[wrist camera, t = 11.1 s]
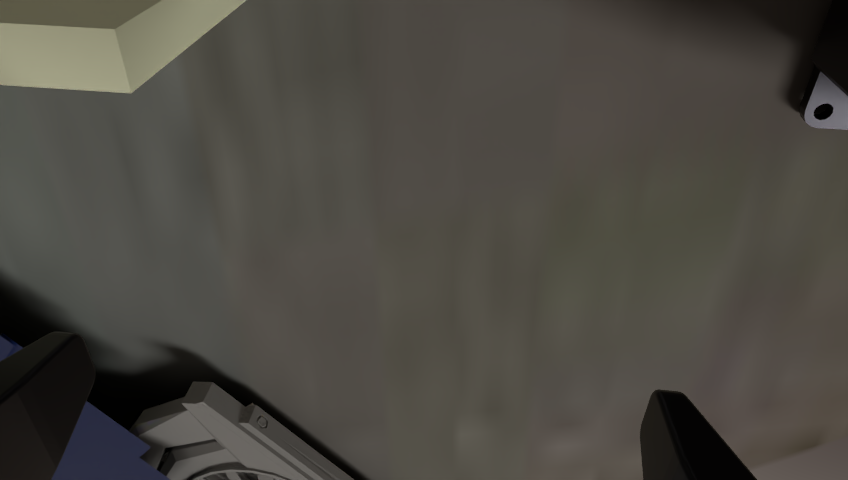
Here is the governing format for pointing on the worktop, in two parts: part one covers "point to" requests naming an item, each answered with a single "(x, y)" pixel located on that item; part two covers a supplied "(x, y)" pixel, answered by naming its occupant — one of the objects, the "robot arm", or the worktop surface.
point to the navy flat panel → (97, 445)
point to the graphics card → (225, 441)
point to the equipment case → (99, 40)
